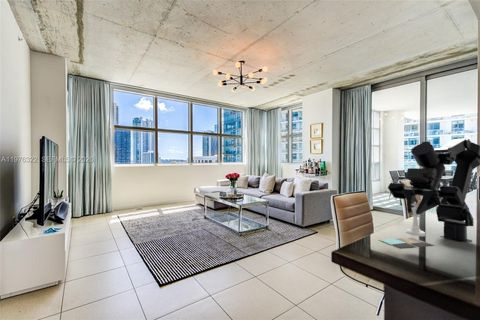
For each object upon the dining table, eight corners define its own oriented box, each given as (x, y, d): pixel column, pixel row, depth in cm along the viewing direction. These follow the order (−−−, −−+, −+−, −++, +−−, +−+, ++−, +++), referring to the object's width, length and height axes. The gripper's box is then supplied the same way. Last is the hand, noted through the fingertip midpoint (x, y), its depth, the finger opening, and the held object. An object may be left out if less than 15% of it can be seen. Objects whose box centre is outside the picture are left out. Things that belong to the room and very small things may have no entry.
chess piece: (429, 236, 67) (428, 203, 67) (411, 235, 68) (410, 203, 68) (420, 232, 72) (419, 200, 72) (402, 231, 73) (402, 200, 73)
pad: (394, 239, 82) (394, 238, 82) (406, 243, 77) (406, 242, 77) (379, 240, 80) (379, 239, 80) (390, 244, 76) (390, 244, 76)
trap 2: (424, 242, 78) (424, 242, 78) (433, 245, 75) (433, 244, 75) (410, 243, 77) (410, 243, 77) (418, 246, 74) (418, 246, 74)
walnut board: (412, 239, 83) (411, 237, 83) (436, 247, 75) (436, 245, 75) (377, 241, 80) (377, 240, 80) (399, 250, 72) (399, 248, 72)
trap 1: (407, 244, 76) (407, 243, 76) (415, 247, 74) (415, 246, 74) (392, 245, 75) (392, 244, 75) (400, 248, 72) (400, 247, 72)
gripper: (390, 160, 80) (371, 192, 75) (458, 158, 64) (441, 200, 59) (402, 181, 84) (386, 213, 79) (471, 185, 67) (455, 226, 62)
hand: (412, 213), depth 69 cm, fingers closed on chess piece
